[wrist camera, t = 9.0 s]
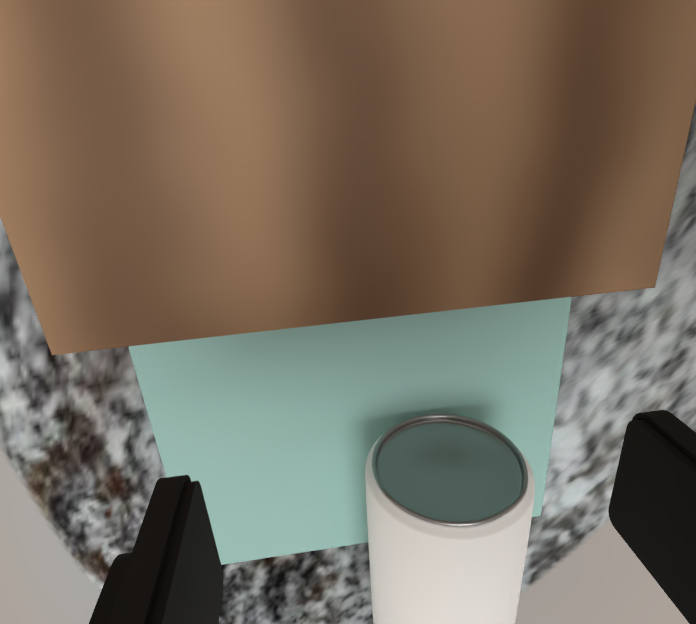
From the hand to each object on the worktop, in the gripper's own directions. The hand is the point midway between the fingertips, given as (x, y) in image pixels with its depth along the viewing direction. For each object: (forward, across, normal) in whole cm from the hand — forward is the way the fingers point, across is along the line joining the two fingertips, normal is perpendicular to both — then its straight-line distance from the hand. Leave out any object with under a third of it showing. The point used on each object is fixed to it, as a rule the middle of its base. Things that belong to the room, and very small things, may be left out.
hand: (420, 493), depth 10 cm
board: (+10, 0, -7) cm, 12 cm away
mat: (+10, 0, +6) cm, 11 cm away
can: (+6, -3, +5) cm, 8 cm away
